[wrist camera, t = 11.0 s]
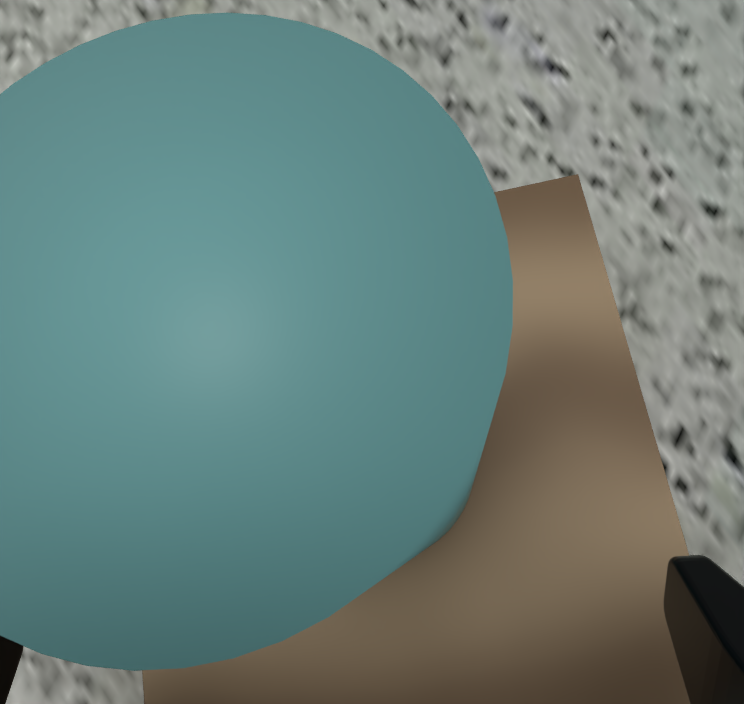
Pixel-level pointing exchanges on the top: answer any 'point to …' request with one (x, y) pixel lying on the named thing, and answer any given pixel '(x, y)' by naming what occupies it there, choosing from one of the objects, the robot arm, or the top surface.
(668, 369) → the top surface
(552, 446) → the walnut plinth
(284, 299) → the teal post
